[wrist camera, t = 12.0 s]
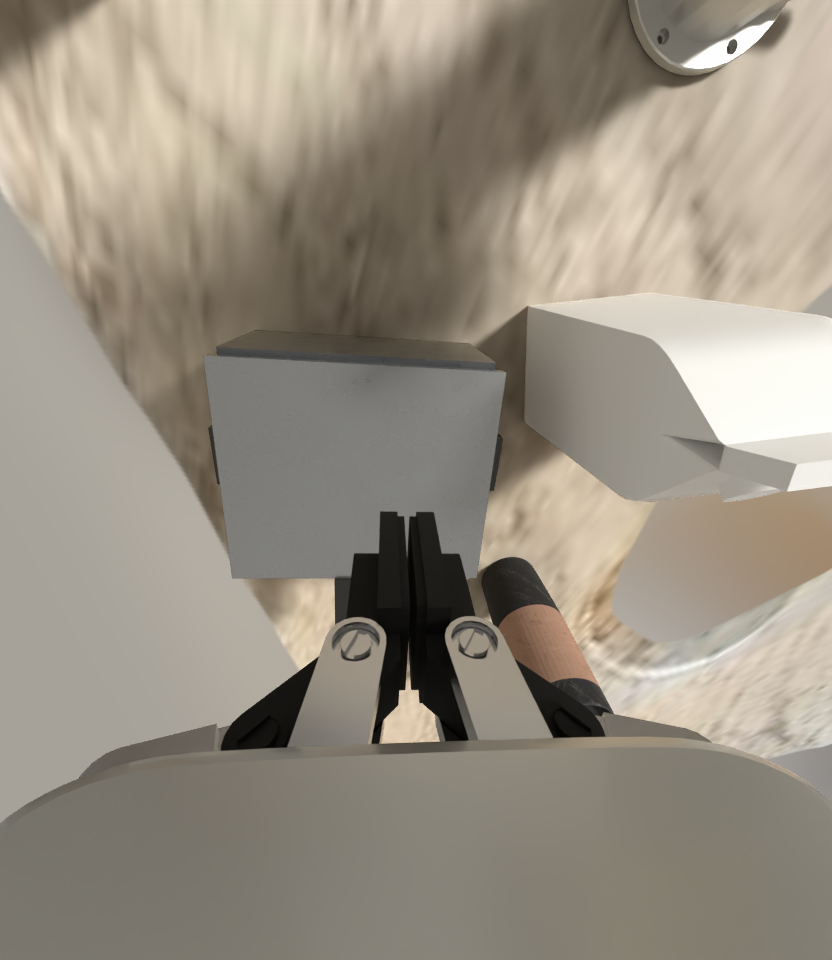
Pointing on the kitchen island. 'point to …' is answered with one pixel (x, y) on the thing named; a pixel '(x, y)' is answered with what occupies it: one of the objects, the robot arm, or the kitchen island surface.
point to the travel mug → (539, 631)
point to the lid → (347, 459)
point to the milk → (683, 394)
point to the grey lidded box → (358, 357)
